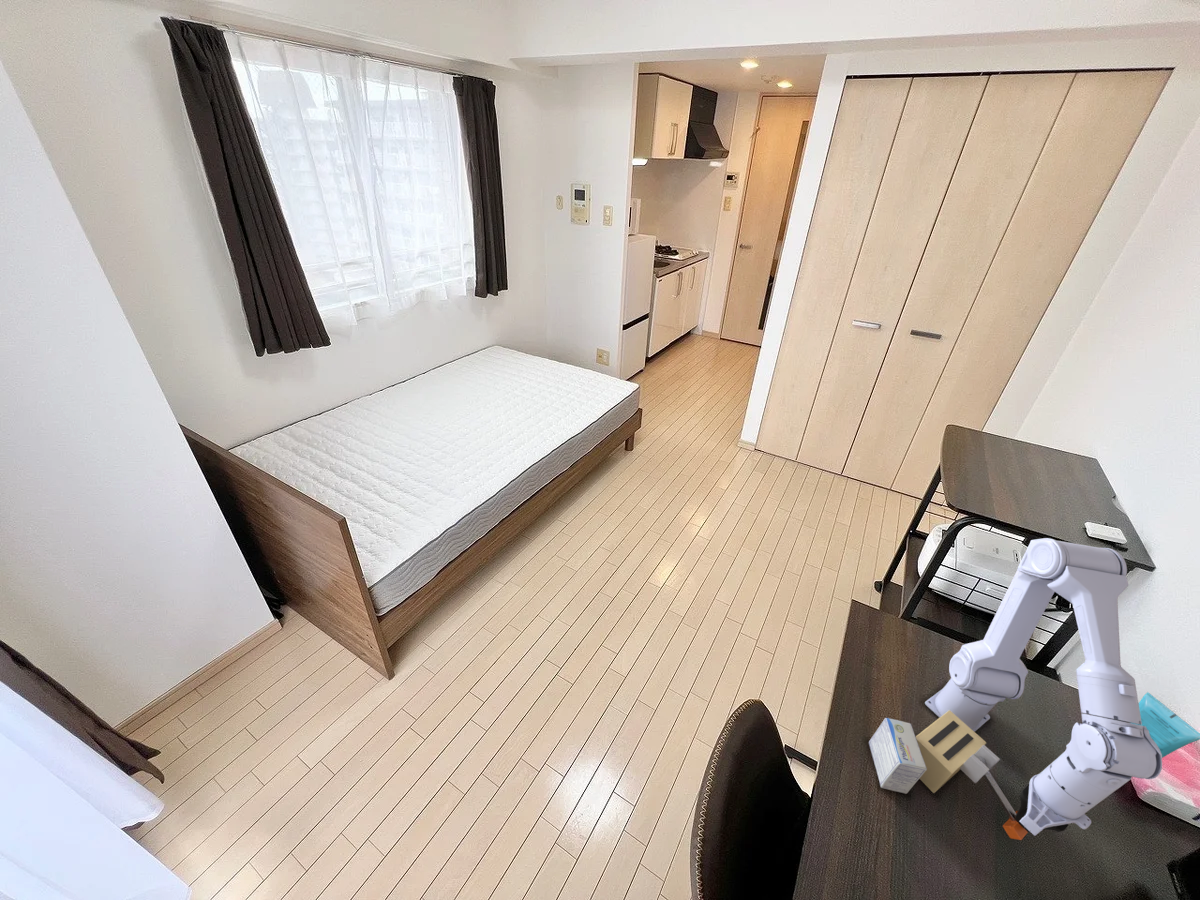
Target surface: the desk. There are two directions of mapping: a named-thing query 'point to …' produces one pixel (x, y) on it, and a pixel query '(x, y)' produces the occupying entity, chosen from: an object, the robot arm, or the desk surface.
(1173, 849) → the desk surface
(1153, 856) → the desk surface
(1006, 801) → the lever
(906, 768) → the medicine box
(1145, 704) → the tube
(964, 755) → the toaster
